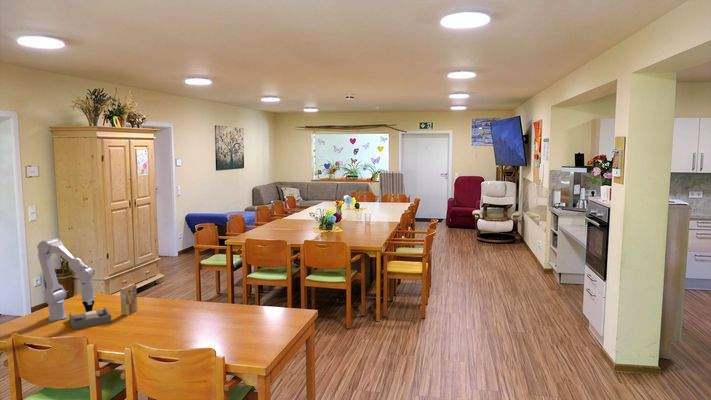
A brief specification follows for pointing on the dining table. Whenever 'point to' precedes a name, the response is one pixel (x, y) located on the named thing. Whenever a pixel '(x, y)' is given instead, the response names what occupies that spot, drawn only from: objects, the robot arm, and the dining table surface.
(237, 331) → the dining table surface
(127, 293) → the candy box
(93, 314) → the cream block
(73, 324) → the trap box
